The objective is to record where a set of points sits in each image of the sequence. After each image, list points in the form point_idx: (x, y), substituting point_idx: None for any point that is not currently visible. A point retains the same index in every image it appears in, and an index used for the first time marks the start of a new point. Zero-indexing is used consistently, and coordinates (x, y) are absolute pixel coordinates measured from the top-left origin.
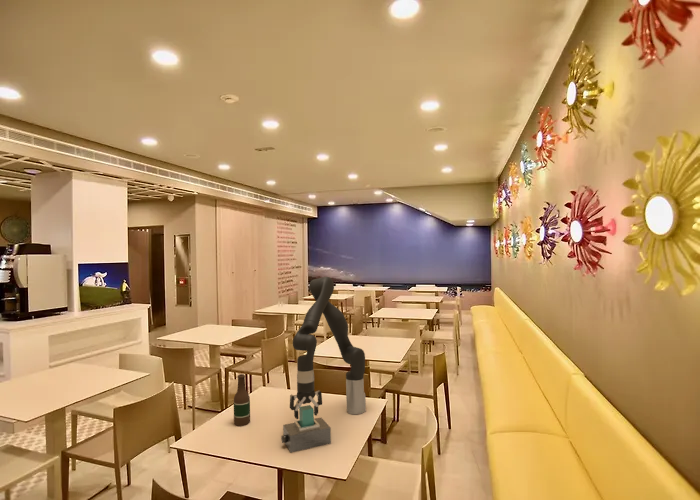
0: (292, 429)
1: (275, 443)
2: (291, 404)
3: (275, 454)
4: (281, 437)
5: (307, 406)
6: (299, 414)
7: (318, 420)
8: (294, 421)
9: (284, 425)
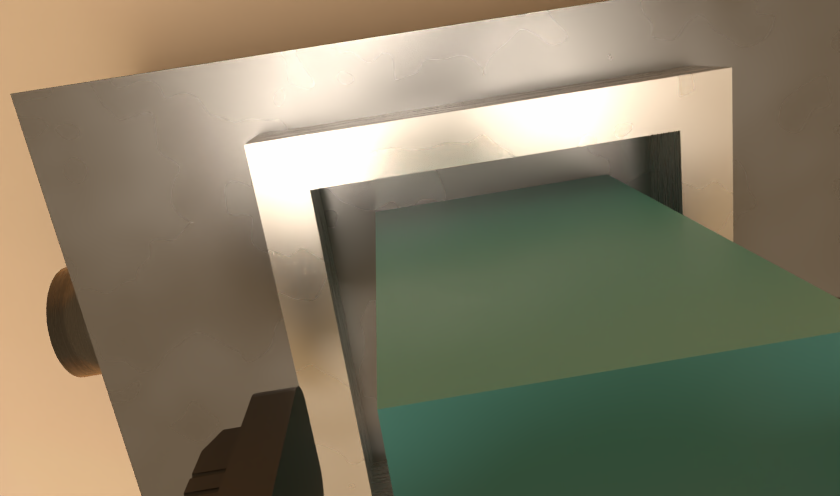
0: (218, 371)
1: (17, 128)
2: None
3: (46, 420)
4: (59, 288)
5: (729, 459)
6: (378, 296)
7: (797, 105)
8: (258, 188)
9: (44, 136)
